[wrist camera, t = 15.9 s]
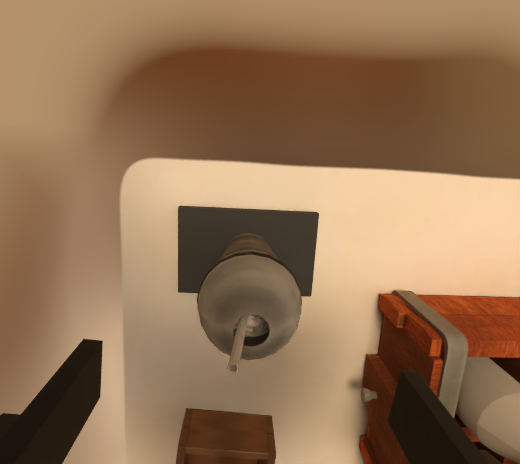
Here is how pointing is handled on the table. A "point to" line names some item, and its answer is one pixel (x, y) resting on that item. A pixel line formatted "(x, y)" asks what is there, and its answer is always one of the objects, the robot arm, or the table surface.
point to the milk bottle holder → (448, 369)
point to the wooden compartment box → (226, 438)
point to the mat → (234, 223)
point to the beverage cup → (249, 301)
